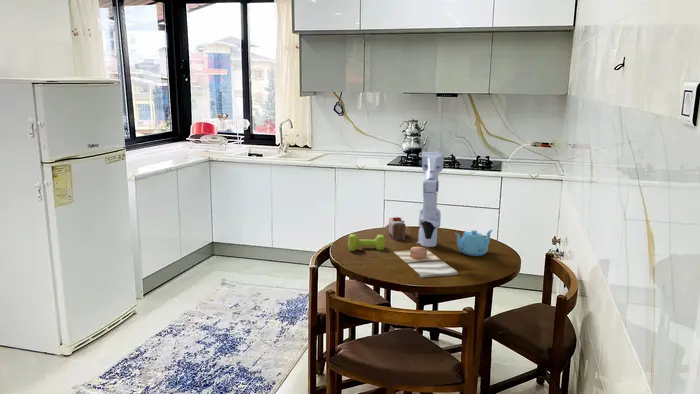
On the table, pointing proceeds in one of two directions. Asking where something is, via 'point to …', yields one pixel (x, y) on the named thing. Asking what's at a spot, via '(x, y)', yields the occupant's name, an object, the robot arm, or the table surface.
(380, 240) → the dumbbell
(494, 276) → the table surface
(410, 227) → the table surface
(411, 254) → the puck
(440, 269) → the board
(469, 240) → the teapot
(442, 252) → the table surface
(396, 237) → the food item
